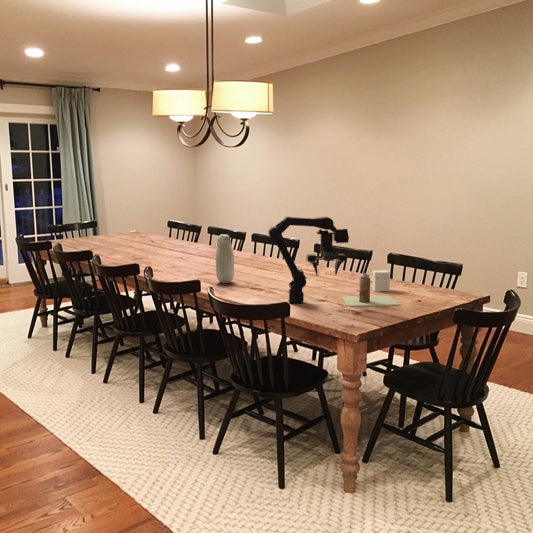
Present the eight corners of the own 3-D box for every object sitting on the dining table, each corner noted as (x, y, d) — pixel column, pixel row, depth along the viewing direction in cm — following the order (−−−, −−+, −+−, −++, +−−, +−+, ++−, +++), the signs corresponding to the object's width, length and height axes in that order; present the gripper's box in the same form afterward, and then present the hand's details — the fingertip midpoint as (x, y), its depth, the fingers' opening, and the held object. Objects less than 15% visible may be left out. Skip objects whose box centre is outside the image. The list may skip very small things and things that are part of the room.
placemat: (349, 306, 257) (349, 305, 257) (341, 298, 275) (341, 296, 275) (399, 305, 259) (399, 304, 259) (388, 296, 277) (388, 295, 277)
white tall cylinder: (237, 282, 316) (236, 233, 311) (226, 285, 308) (225, 235, 303) (224, 280, 322) (222, 232, 317) (212, 283, 314) (211, 234, 309)
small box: (387, 289, 293) (387, 270, 292) (389, 291, 288) (390, 272, 286) (372, 289, 293) (372, 270, 291) (374, 292, 288) (375, 272, 286)
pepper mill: (363, 303, 261) (364, 274, 259) (357, 301, 266) (357, 272, 263) (371, 302, 264) (372, 273, 261) (365, 299, 268) (365, 271, 266)
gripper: (309, 246, 255) (309, 279, 258) (349, 245, 256) (349, 278, 259) (306, 242, 266) (306, 274, 269) (344, 242, 267) (343, 273, 270)
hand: (326, 275), depth 266 cm, fingers open, 9 cm apart
